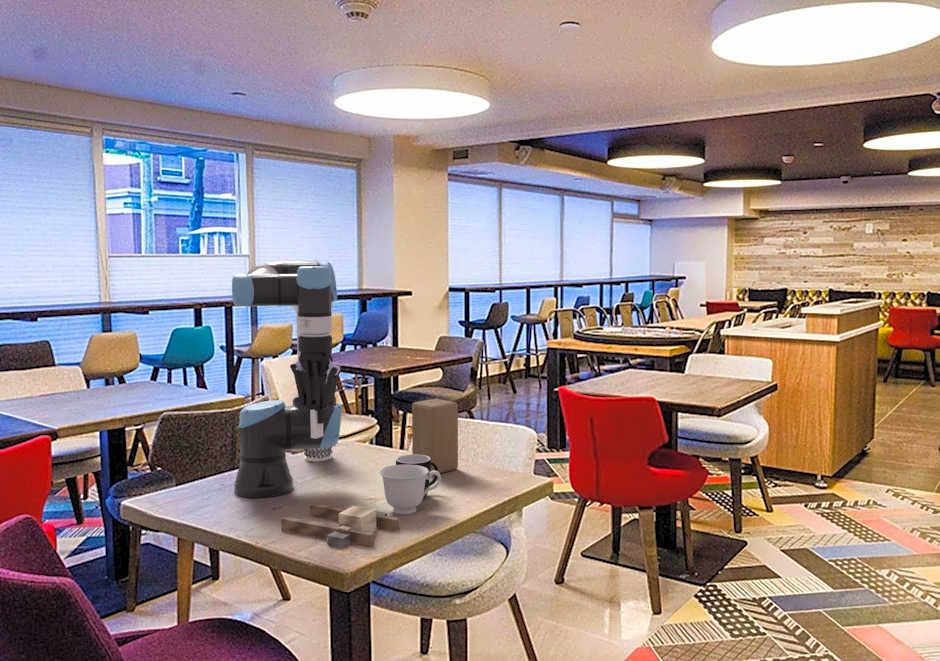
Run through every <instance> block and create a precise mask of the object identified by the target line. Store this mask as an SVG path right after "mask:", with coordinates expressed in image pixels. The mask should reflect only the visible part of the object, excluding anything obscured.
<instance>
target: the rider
mask: <svg viewBox="0 0 940 661" xmlns="http://www.w3.org/2000/svg"><path fill="white" fill-rule="evenodd" d="M345 509H346V510H344V511H343V512H341V513H339V521H338V526H339V527H341V526H347V527H352V529H356V530H361V531H366V532H372V533H374V532H376V531H377V527H376V511H377V509H376V508H370V507H364V506H358V505H351V507H348V508H345Z"/></svg>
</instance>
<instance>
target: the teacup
mask: <svg viewBox="0 0 940 661" xmlns="http://www.w3.org/2000/svg"><path fill="white" fill-rule="evenodd" d="M428 473H429V470H428V469H427V468H426V467H423V466H419V465H410V464H402V465H396V464H395V465H394V464H393V465H389V466H386V467H383V468H382V469H380V470H379V475H380V476H381V477H382V482H383V488H384V489H383V490H384V495H385V500H386V502H387V504H388V505H389V506H390V507H391V508H393V509H392V512H393V513H394V514H397V515H403V516H404V515H411V514H414V513H416V512H417V506H419V505H420V504H421V503H422V502H423V500H424V499H423V497H424V495H425V494H426V493H427V492H430V491H432V490H435V489H436V488H438V487H439V486H440V483H441V482H442V476H441V473H439V472H438V471H435V470H434V471H431V472H430V473H429V477H428V476H427V474H428ZM435 475H436V476H437V480H436V481H435V483H434V484H433V485H431V486H429V487H428V488H427V489H426V490H425V491H424V488H425V480H426V479H428V480H430V481H431V478H432V476H435ZM427 494H428V493H427Z"/></svg>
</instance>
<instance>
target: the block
mask: <svg viewBox="0 0 940 661" xmlns="http://www.w3.org/2000/svg"><path fill="white" fill-rule="evenodd" d="M458 407H459V405H458V402H455V401H450V400H445V399H441V398H431V399H424V400H419V401H415V402H412V406H411V415H412V416H411V422H412V423H411V430H412V432H411V435H412V436H411V437H412V439H411V441H412V442H411V443H412V444H411V445H412V454H418V455H425V456H428V457H430V459H431V462H432V463H434V464H435V465H436V466H437V468H438V472H439V473H440V474H442V473H446V472H451V471H454V470H458V467H459V412H458V411H459V408H458ZM434 470H435V469H434V467H433V466H432V465H431V470H430V472H431V471H434Z"/></svg>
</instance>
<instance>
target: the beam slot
mask: <svg viewBox="0 0 940 661" xmlns="http://www.w3.org/2000/svg"><path fill="white" fill-rule="evenodd" d="M346 509H347V508H343V507H342V508H341V507H336V506H332V505H331V506H330V505H327V504H326V505H325V504H320V503H319V504H318V503H312V504H310V505H309V516H312V517H316V518H317V517H318V518H323V519H329V520H334V521H338V522H339V513H341V512H343V511H344V510H346ZM280 527H281V528H280V530H282V529H284V530H283V531H287V530H289V531H288V532H292V531H294V532H293V533H297V534H298V533H299V534H303V535H309V536H314V537H320V538H324V539H327V543H326V544H327V545H329V546H332V547H333V546H335V547H339V548H345V547H346V546H348V545H350V544H355V545H361V546H365V547H366V546H367V547H372V546H374V545H375V533H374V532H373V533H372V532H366V531H361V530H356V529H352V527H347V526H341V527H339V525H333V524H327V523H321V522H317V521H312V520H311V521H310V520H306V519H299V518H295V517H290V516H284V517H282V518H281V519H280ZM376 528H379V529H383V530H389V531H398V530H400V518H399V517H395V516H390V515H389V516H388V512H384V511H378V510H376Z"/></svg>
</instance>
